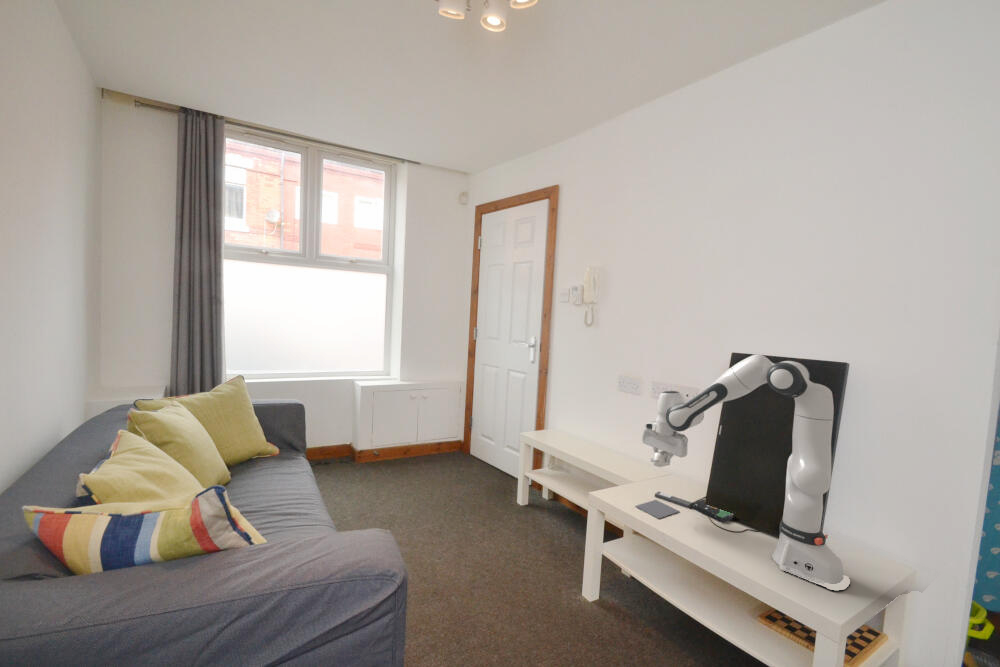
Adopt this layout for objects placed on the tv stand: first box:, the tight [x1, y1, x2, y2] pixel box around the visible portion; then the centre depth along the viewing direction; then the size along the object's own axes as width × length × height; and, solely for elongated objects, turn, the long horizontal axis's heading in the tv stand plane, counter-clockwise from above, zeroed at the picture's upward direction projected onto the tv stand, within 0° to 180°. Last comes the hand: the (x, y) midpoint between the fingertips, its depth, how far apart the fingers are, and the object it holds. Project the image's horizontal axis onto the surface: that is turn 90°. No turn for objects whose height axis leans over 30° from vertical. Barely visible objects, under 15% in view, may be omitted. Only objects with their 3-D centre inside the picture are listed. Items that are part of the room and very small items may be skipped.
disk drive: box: [689, 498, 734, 524], centre depth 197 cm, size 10×3×15 cm
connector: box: [650, 450, 671, 468], centre depth 194 cm, size 4×11×5 cm, turn 125°
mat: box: [634, 499, 680, 520], centre depth 196 cm, size 12×14×1 cm
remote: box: [654, 491, 693, 509], centre depth 206 cm, size 15×4×2 cm, turn 50°
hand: (662, 460), depth 194 cm, fingers closed on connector, 3 cm apart
